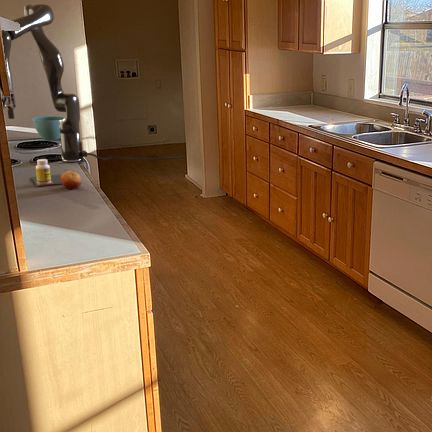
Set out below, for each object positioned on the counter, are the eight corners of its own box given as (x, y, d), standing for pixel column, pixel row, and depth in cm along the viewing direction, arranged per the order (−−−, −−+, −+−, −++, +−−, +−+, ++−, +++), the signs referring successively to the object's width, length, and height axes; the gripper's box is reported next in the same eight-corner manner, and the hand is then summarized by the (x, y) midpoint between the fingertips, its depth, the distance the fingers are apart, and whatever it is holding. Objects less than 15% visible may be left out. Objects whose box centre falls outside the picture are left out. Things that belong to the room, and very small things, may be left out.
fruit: (68, 180, 242) (74, 166, 238) (81, 192, 240) (86, 177, 236) (53, 184, 235) (58, 170, 231) (66, 196, 233) (72, 181, 230)
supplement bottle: (46, 184, 238) (44, 161, 235) (34, 183, 239) (32, 160, 236) (53, 181, 243) (51, 159, 240) (42, 180, 244) (39, 158, 241)
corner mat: (69, 174, 258) (69, 173, 258) (77, 182, 245) (77, 181, 245) (31, 178, 250) (31, 177, 250) (37, 186, 237) (37, 185, 237)
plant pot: (33, 137, 341) (31, 116, 338) (65, 135, 350) (63, 115, 346) (36, 142, 326) (34, 121, 322) (69, 140, 335) (68, 119, 331)
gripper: (3, 82, 226) (8, 123, 231) (18, 79, 239) (23, 118, 244) (-16, 81, 226) (-11, 122, 231) (0, 79, 239) (5, 117, 244)
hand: (7, 120), depth 237 cm, fingers open, 8 cm apart
